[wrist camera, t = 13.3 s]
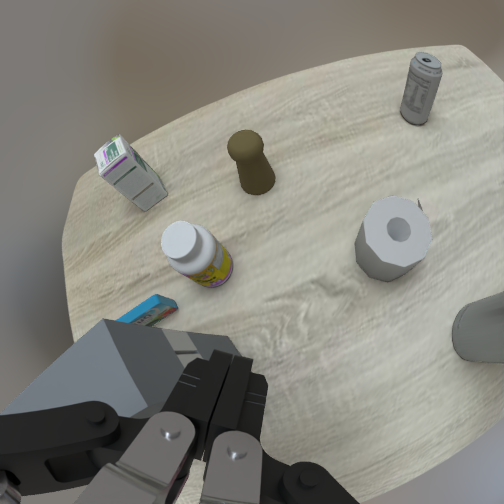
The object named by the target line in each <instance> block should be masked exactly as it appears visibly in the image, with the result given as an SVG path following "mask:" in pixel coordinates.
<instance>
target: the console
mask: <svg viewBox="0 0 504 504" xmlns="http://www.w3.org/2000/svg"><path fill="white" fill-rule="evenodd" d="M214 349H217V350H220V351H224V352H227V353H231V354H233V358H234V355H238V356H241V355H240V353H239V352H238V350H237V349H236V347H235V346H234V344H233V343H232V342H231V340H230V339H229V337H228V336H221V335H211V334H202V333H193V332H185V331H177V330H170V329H163V328H156V327H149V326H143V325H137V324H131V323H125V322H119V321H114V320H109V319H102V320H101V321H100V322H98V323H97V324H96V325H95V326H94V327H93V328H91V329H90V330H89V331H88V332H87V333H86V334H85V335H83V336H82V337H81V338H80V339H79V340H78V341H77V342H76V343H74V344H73V345H72V346H71V347H70V348H69V349H68V350H67V351H65V352H64V353H63V354H62V355H61V356H60V357H59V358H58V359H57V360H56V361H54V362H53V363H52V364H51V365H50V366H49V367H48V368H47V369H46V370H45V371H44V372H42V373H41V374H40V375H39V376H38V377H37V378H36V379H35V380H34V381H33V382H32V383H31V384H30V385H29V386H28V387H27V388H26V389H24V390H23V391H22V392H21V394H19V395H18V396H17V397H16V398H15V399H14V400H13V401H12V402H11V403H10V404H9V405H8V406H7V407H6V408H5V409H4V410H3V411H2V412H1V413H0V415H8V414H16V413H24V412H31V411H38V410H44V409H50V408H56V407H62V406H67V405H72V404H77V403H82V402H87V401H101V402H104V403H107V404H108V405H110V406H111V407H113V408H114V409H115V411H116V412H117V414H118V416H123V417H129V418H137V419H144V418H149V417H152V416H153V415H155V414H157V413H158V412H160V410H161V409H162V408H163V406H164V404H165V402H166V401H167V399H168V397H169V395H170V394H171V392H172V390H173V388H174V387H175V385H176V383H177V382H178V380H179V378H180V376H181V374H182V373H183V371H184V369H185V367H186V366H187V364H188V363H189V362H191V361H193V360H194V359H196V358H197V357H198V358H201V359H204V360H208V361H209V359H210V357H211V355H212V353H213V350H214ZM233 358H232V360H233Z"/></svg>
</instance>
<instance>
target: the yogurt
mask: <svg viewBox="0 0 504 504" xmlns="http://www.w3.org/2000/svg"><path fill="white" fill-rule="evenodd" d="M177 309H178V308H177V306H176V303H175V301H174V300H172V299H169V298H166V297H164V296H161V295H158V294H155V295H153V296H151V297H150V298H148V299H147V300H145V301H144V302H142V303H141V304H139V305H138V306H136V307H135V308H133V309H132V310H131V311H129V312H128V313H126V314H125V315H123V316H122V317H120V318H119V319H117V320H116V321H119V322H125V323H131V324H137V325H143V326H149V327H150V326H152V325H153V324H155V323H156V322H158V321H160V320H161V319H163V318H164V317H166V316H167V315H169V314H171V313H172V312H174V311H175V310H177Z"/></svg>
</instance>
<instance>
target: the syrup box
mask: <svg viewBox="0 0 504 504" xmlns="http://www.w3.org/2000/svg"><path fill="white" fill-rule="evenodd" d="M94 156H95V160H96V165H97V169H98V172H99V176H101V177H102V178H103V179H104V180H106V181H107V182H108V183H109V184H111V185H112V186H113V187H114V188H116V189H117V190H118V191H119V192H120V193H122V194H123V195H124V196H125V197H127V198H128V199H129V200H130V201H132V202H133V203H134V204H135V205H137V206H138V207H139V208H141V209H142V210H143V211H147V210H148V209H150V208H151V207H152V206H154V205H155V204H156V203H158V202H159V201H160V200H162V199H163V198H164V197H166V196H167V195H168V194H167V191H166V189H165V187H164V185H163V183H162V181H161V179H160V177H159V176H158V175H157V174H156V172H155V171H154V170H153V169H152V168H151V167H150V166H149V165H148V164H147V163H146V162H145V161H144V160H143V159H142V158H141V157H140V155H139V154H138V153H137V152H136V151H135V150H134V149H133V148H132V147H131V146H130V145H129V144H128V143H127V142H126V141H125V139H124V138H123V137H122V136H121V135H120V134H118V135H117V136H115V137H114V138H112V139H111V140H110V141H108V142H107V143H106V144H105V145H104V146H102V147H101V148H100V149H99V150H98V151H97V152H96V153H95V154H94Z"/></svg>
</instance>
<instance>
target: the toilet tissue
mask: <svg viewBox="0 0 504 504" xmlns="http://www.w3.org/2000/svg"><path fill="white" fill-rule="evenodd" d="M431 241H432V234H431V229H430V224H429V220H428V217H427V216H426V215H425V214H424V212H423V210H422V208H421V205H420V202H419V200H418V206H417V205H416V204H415V203H414V202H413V201H411V200H408V199H404V198H401V197H397V196H394V195H392V196H389V197H386V198H383V199H380V200H378V201H375V202H373V204H372V206H371V207H370V209H369V211H368V212H367V214H366V216H365V217H364V219H363V222H362V224H361V227H360V230H359V233H358V235H357V238H356V241H355V252H356V262H357V263H358V264H359V266H360V267H361V268H362V269H363V270H364V272H365V273H366V274H367V275H368V277H370V278H374V279H377V280H381V281H385V282H389V281H391V280H394V279H396V278H398V277H400V276H403V275H405V274H406V273H407V272H408V271H409V270H411V269H412V268H413V267H414V266H415V265H417V264H418V263H419V262H420V261H421V260H422V259H424V257H425V255H426V252H427V250H428V248H429V246H430V244H431Z"/></svg>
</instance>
